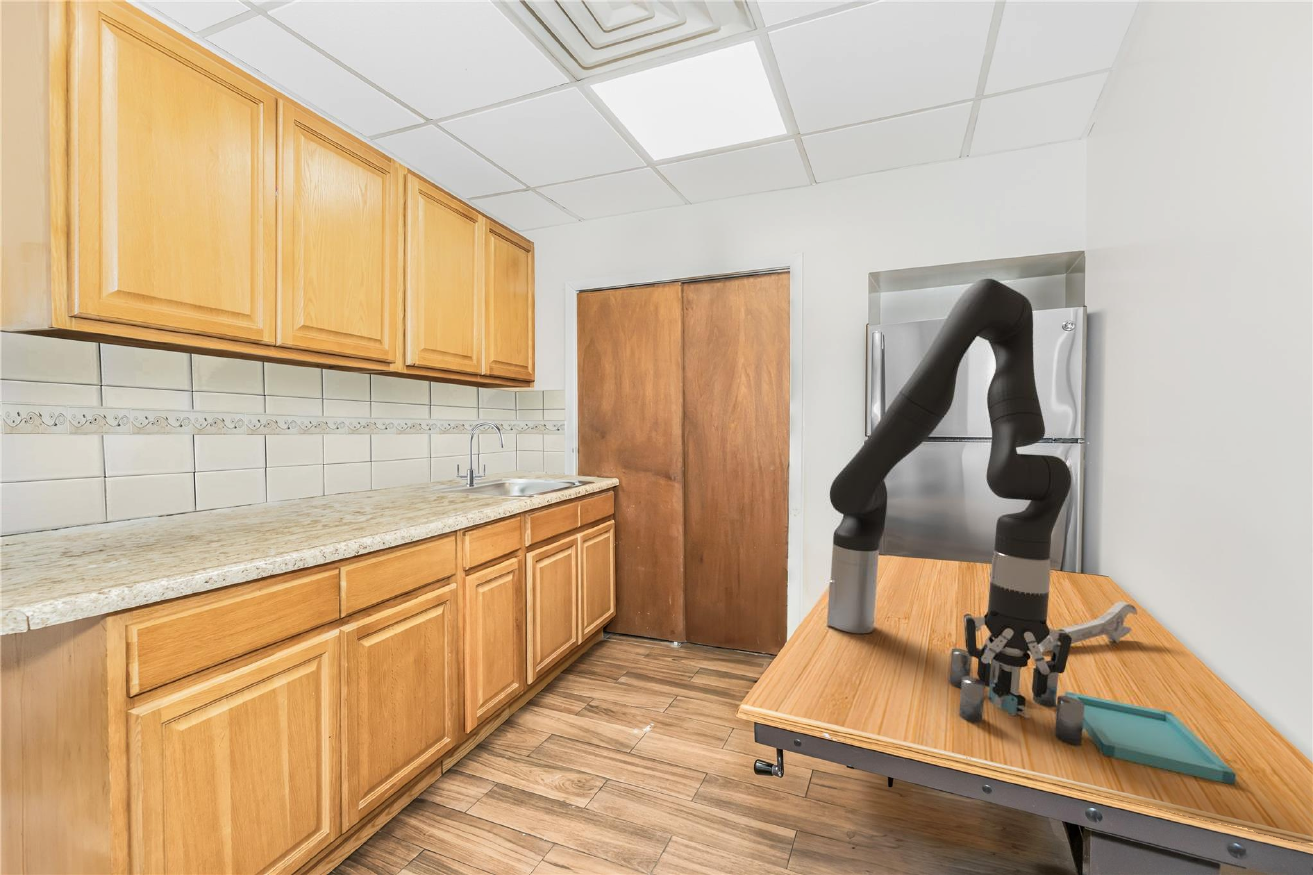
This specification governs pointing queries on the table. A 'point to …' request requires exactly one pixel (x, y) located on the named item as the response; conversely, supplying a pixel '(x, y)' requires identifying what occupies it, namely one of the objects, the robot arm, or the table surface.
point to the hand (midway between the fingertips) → (1010, 689)
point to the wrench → (1098, 627)
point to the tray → (1149, 738)
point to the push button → (1009, 681)
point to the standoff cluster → (1067, 707)
